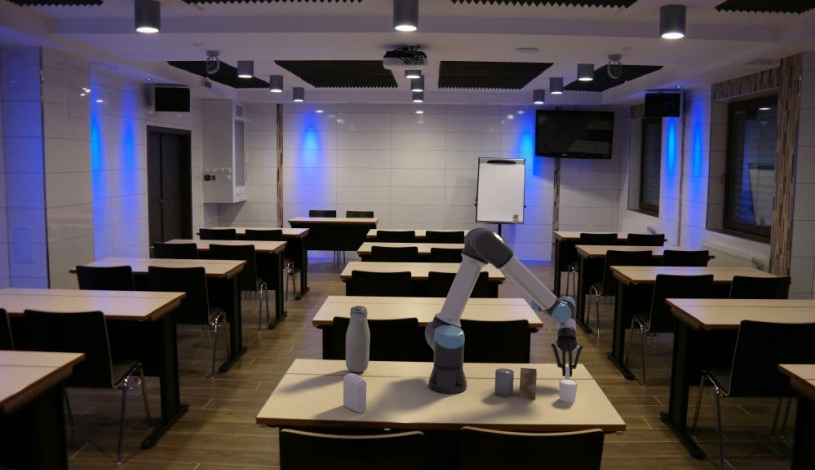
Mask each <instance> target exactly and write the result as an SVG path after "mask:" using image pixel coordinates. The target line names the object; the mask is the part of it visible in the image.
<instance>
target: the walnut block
mask: <svg viewBox="0 0 815 470" xmlns="http://www.w3.org/2000/svg"><path fill="white" fill-rule="evenodd" d="M519 371H520V373H519V376H520V377H519V392H518V394H519V399H524V398H525V399H526V400H527V399H528V400H536V396H537V395H536V393H537V379H538V378H537V377H538V376H537V375H538V374H537V373H538V372H537V368H531V367H529V368H528V367H520V370H519Z"/></svg>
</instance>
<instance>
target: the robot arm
mask: <svg viewBox="0 0 815 470" xmlns="http://www.w3.org/2000/svg"><path fill="white" fill-rule="evenodd" d="M463 241H464V242H463V245H464V247H463V248H462V251H461V257H462V260H461V263H460V265H459V268H458V270H457V272H456V274H455V277H454V279H453V282H452V284H451V286H450V288H449V291H448V292H447V296H446V298H445V301H444V302H443V305H442V307H441V309H440V312H438V313H435V315H434V316H433V319H432V320H431V321H430V322H429V323H428V324H427V326H426V327H425V330H424V336H425V341H426V343H427V345H428V346H429V347H430V348H431V349H432V350H433V367H432V370H431V373H430V376H429V379H428V382H427V384H428V389H430V390H431V391H433V392H437V393H441V394H459V393H463V392H464V391H466V390H467V388H468V383H467V378H466V375H465V371H464V355H465V354H464V353H465V352H464V351H465V349H464V348H465V339H466V338H465V333H464V330H463V329H462V328H461V327H462V325H461V318H462V315H463V312H464V311H465V308H466V306H467V304H468V302H469V300H470V299H469V298H470V296H471V294H472V292H473V290H474V287H475V285H476V282H477V280H478V278H479V277H480V273H481V271H482V269H483V268H484V267H486V266H488V264H491V265H492V266H493V267H494V268H495V269H496V270H500V271H502V272H503V273H504V274H505V275H506V276H507V277H508V278H509V279H510V280H511V281H512V282H513V283H514V284H515V285H516V286H517V287H518V288H520V289H521V290H522V291H523V292H524V293H525V294H526V295H527V296H528V297H529V298H530V299H531V301H530V307H531V309H532V310H534V311H536V312H540V313H542V314H544V315H545V316H546V317H549V318H550V319H552V320H553V321H555V322H556V323H557V324H556V325H557V332H556V333H557V334H556V335H557V336H556V337H557V338H556V339H557V340H556V342H555V343H551V346H550V349H551V351H553V355H554V358H555V363H556V366H557V368H559V369H561V374H562V377H564V379H570V378H572V377H573V370H577V367H578V363H579V360H580V359H579V358H580V355H581V353H582V352H583V349H584V346H583V345H579V344H578V342H577V332H576V331H577V323H576V320H577V318H576V317H577V315H576V314H577V313H576V312H577V311H576V310H577V309H576V308H577V307H576V301H575V299H574V298H573V297H571V296H566V295H564V296H560V297H557V296H556V295H555V294H554V293H553V292H552V291H551V290H550V289H549V288H548V287H547V286H546V285H545V284H544V283H543V282H542V281H541V280H540V279H539V278H538V277H537V276H536V275H535V274H534V273H533V272H531V270H530V269H529V268H527V266H526V265H524V264H523V263H522V261H520V260H519V259H518V257H516V256H515V251H514V250H513V248H511V247H510V246H509V245H508V244H507V243H506V241H504V239H503V238H502V237H501V236H500V235H499V234H498V233H497V232H495V231H493V230H490V229H488V228H486V227H474V228H472V229H470V230H469V231H468V232H467V233H466V234H465V236H464V239H463ZM558 349H559V350H560V351H561V359H560V355H559V351H558ZM575 349H576V353H575V354H576V355H575V359H574V363H573V352H574V350H575ZM566 353H567V354H568V356H567V357H568V366H566V365H567V364H566V361H567V359H566V355H567V354H566Z"/></svg>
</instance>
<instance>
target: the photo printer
mask: <svg viewBox="0 0 815 470" xmlns="http://www.w3.org/2000/svg"><path fill="white" fill-rule="evenodd" d="M342 390H343V391H342V392H343V394H342V395H343V396H342V398H343V400H342V401H343V406H344V407H346V408H347V409H350V410H352V411H354V412H356V413H358V414H361V413H365V411H366V410H367V382H366V380H365V379H364V378H363V377H362V376H360V375H358V374H356V373H354V372H350V373H346V374H345V375H344V376H343V389H342Z"/></svg>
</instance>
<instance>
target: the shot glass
mask: <svg viewBox="0 0 815 470" xmlns="http://www.w3.org/2000/svg"><path fill="white" fill-rule="evenodd" d="M578 384H579V383H578V381H577V380H575V379H565V378H562V379H560V380H559V382H558V385H559V387H558V388H559V400H560V401H562V402H564V403H565V402H566V403H574V402H576V397H577V391H578Z"/></svg>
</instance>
